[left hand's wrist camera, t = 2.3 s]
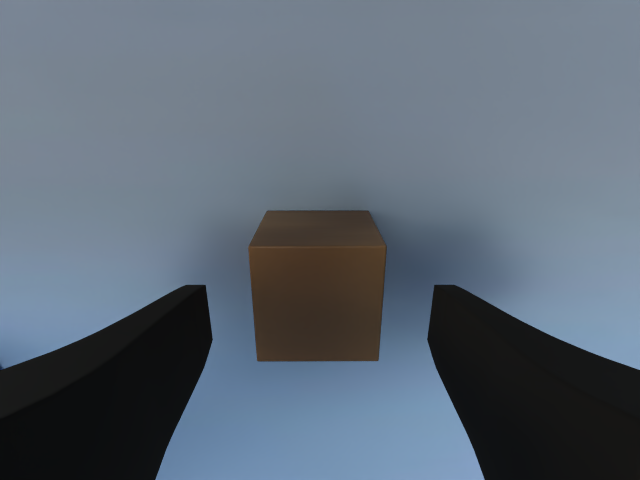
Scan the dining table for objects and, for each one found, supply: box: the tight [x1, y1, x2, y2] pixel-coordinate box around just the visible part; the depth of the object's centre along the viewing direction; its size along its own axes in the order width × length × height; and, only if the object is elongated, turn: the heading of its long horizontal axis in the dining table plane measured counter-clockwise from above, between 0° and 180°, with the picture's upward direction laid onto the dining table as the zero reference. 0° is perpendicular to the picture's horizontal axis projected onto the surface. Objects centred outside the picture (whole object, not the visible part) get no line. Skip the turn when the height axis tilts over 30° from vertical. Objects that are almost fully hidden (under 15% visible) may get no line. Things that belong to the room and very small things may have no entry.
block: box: [248, 211, 387, 361], centre depth 13 cm, size 4×4×4 cm
